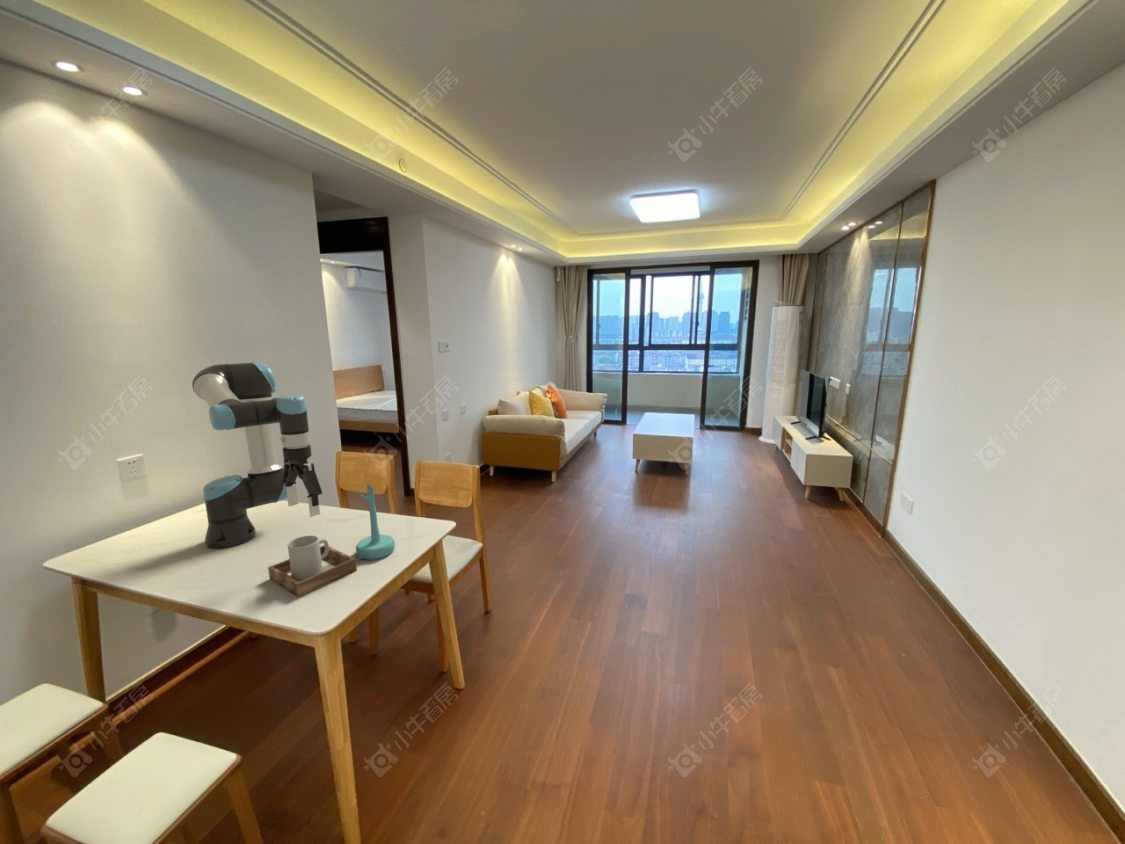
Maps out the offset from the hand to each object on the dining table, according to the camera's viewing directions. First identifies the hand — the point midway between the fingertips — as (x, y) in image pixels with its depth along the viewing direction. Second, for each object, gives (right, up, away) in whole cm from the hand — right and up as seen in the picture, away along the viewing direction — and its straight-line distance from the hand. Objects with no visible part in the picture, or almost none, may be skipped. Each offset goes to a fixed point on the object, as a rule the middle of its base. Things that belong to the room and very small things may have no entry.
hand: (304, 510), depth 142 cm
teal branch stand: (+17, -18, +14) cm, 28 cm away
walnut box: (+4, -20, -1) cm, 21 cm away
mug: (+3, -19, -1) cm, 20 cm away
